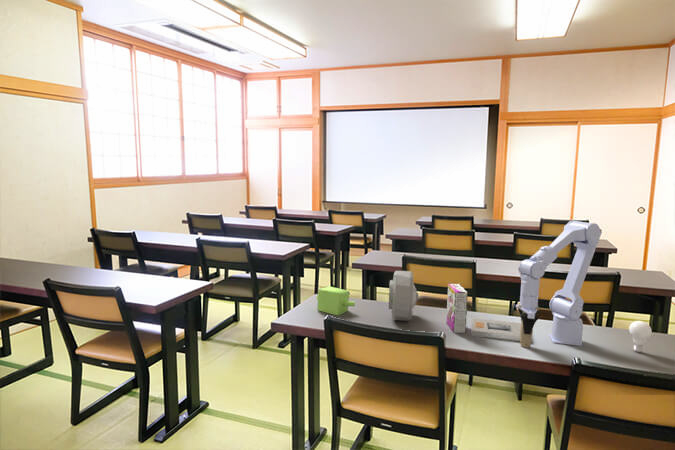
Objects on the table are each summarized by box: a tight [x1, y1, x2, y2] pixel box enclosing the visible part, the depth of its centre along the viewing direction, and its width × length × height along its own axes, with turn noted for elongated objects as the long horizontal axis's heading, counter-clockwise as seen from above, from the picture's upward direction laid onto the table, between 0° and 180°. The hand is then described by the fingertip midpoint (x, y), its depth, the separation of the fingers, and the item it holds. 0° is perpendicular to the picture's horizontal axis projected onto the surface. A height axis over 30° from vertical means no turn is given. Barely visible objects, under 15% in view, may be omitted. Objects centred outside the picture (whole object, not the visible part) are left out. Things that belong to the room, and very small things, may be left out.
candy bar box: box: [445, 283, 468, 334], centre depth 168 cm, size 11×5×16 cm, turn 0°
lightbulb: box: [628, 320, 653, 353], centre depth 149 cm, size 6×6×11 cm
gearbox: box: [316, 286, 356, 316], centre depth 186 cm, size 18×10×10 cm, turn 57°
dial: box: [388, 270, 419, 322], centre depth 177 cm, size 20×12×20 cm, turn 171°
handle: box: [518, 302, 539, 349], centre depth 152 cm, size 5×6×15 cm
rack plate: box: [470, 317, 521, 342], centre depth 165 cm, size 20×14×2 cm
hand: (526, 331), depth 152 cm, fingers closed on handle, 4 cm apart
